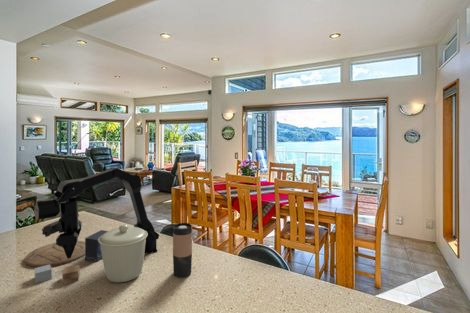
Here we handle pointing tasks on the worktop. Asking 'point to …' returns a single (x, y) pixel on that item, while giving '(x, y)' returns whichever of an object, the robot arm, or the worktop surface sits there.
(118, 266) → the canister
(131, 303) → the worktop surface
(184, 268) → the travel mug
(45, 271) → the slate block
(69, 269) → the walnut block
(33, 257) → the trivet
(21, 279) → the worktop surface
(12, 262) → the worktop surface
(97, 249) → the small box
